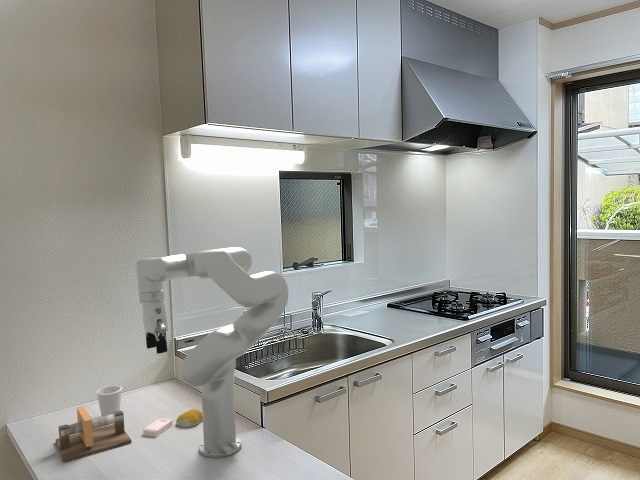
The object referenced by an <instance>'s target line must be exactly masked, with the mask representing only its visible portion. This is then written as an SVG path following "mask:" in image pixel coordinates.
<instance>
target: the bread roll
mask: <svg viewBox="0 0 640 480" xmlns="http://www.w3.org/2000/svg"><path fill="white" fill-rule="evenodd" d="M175 422H176V425H177V426H178V427H180V428H181V427H182V428H192V427H195V426H197V425H199V423H203V414H202V410H199V409H195V408H192V409H189V410H187V411H184V412H183V413H182V414H180V415H178V416H177V418H176V421H175Z"/></svg>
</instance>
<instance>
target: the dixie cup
mask: <svg viewBox="0 0 640 480" xmlns="http://www.w3.org/2000/svg"><path fill="white" fill-rule="evenodd" d="M122 390H123V387H122V386H120V385H108V386H104V387H101V388H99V389H97V390H96V392H95V394H96V396H97V400H98V404H99V410H100V411H99V412H100V415H101V416H100V417H102V416H106V415H110V414H114V412H117V411H121V400H122Z"/></svg>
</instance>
